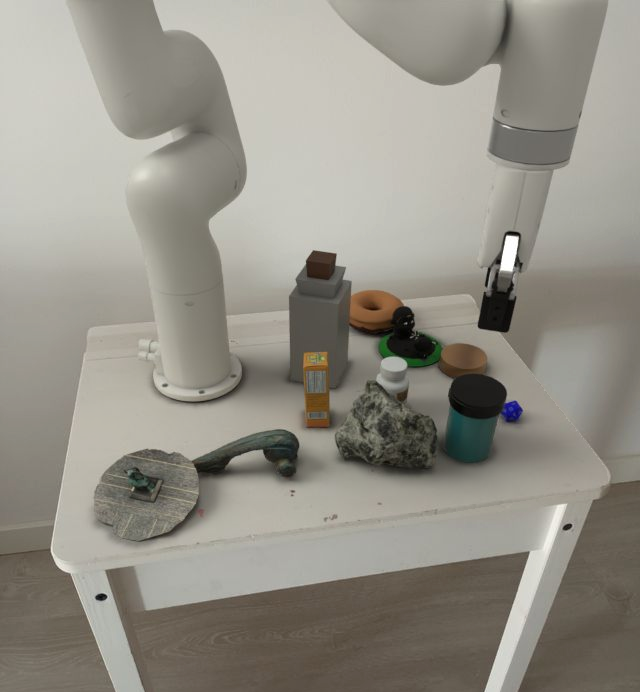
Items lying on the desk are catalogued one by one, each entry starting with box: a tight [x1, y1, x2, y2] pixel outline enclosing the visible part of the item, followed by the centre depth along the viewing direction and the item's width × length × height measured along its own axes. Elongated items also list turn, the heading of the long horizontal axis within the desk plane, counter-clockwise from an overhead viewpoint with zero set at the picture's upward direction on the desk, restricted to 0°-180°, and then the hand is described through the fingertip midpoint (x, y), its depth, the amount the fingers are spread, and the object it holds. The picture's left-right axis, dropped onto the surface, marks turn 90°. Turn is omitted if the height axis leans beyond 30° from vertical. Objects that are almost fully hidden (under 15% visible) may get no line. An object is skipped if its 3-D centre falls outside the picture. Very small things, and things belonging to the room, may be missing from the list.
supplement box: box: [303, 352, 331, 428], centre depth 85 cm, size 3×4×10 cm
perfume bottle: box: [288, 249, 353, 389], centre depth 91 cm, size 7×7×18 cm
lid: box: [447, 374, 508, 419], centre depth 79 cm, size 7×7×2 cm
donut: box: [349, 289, 405, 334], centre depth 106 cm, size 10×10×4 cm
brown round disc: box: [438, 342, 488, 379], centre depth 97 cm, size 7×7×2 cm
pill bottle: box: [375, 357, 410, 405], centre depth 87 cm, size 4×4×8 cm
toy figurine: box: [377, 305, 444, 367], centre depth 100 cm, size 10×10×6 cm
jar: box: [442, 404, 500, 463], centre depth 81 cm, size 6×6×9 cm
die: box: [500, 400, 524, 423], centre depth 88 cm, size 3×3×3 cm
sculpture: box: [93, 448, 200, 542], centre depth 75 cm, size 12×9×8 cm
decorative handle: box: [190, 428, 300, 479], centre depth 79 cm, size 15×7×5 cm, turn 105°
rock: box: [334, 379, 439, 469], centre depth 80 cm, size 12×8×10 cm
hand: (495, 307), depth 71 cm, fingers open, 8 cm apart
